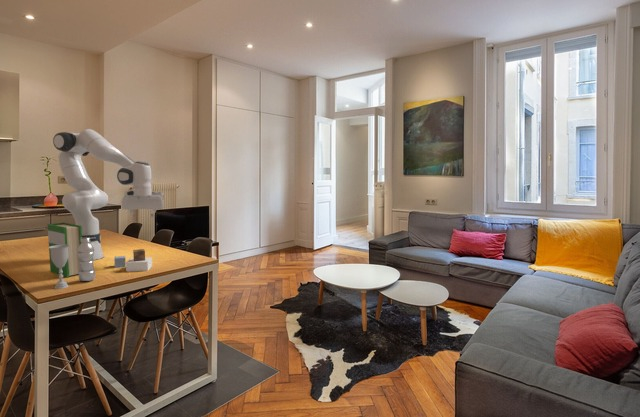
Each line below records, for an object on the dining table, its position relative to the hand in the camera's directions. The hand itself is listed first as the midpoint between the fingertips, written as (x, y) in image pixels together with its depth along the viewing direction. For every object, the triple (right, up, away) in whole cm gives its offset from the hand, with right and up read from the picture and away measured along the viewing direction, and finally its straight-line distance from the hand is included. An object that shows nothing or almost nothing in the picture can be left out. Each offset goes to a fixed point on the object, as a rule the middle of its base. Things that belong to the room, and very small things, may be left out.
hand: (143, 217), depth 201 cm
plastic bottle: (-11, -29, -31) cm, 44 cm away
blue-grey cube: (-10, -26, -5) cm, 28 cm away
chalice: (-16, -30, -41) cm, 53 cm away
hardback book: (-28, -27, -19) cm, 44 cm away
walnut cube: (+3, -22, -10) cm, 24 cm away
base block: (+3, -27, -9) cm, 28 cm away
